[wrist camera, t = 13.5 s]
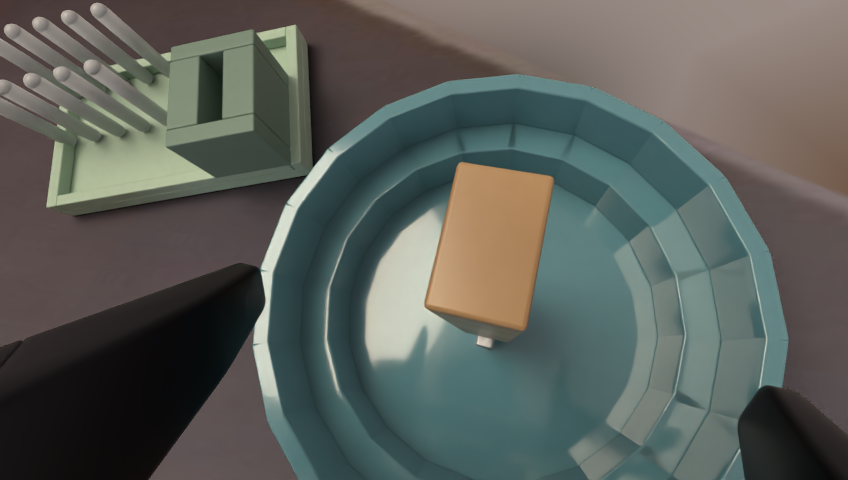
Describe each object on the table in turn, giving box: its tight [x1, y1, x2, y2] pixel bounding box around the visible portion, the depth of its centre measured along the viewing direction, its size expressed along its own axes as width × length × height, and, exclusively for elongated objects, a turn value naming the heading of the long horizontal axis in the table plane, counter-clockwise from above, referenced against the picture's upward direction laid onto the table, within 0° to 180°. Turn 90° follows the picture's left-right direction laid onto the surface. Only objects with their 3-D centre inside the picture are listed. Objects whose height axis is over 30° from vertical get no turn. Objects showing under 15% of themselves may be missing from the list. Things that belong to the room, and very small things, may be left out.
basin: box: [252, 74, 789, 480], centre depth 16 cm, size 16×16×6 cm
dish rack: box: [0, 3, 313, 216], centre depth 21 cm, size 8×14×6 cm, turn 96°
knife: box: [424, 162, 554, 350], centre depth 12 cm, size 3×1×13 cm, turn 166°
